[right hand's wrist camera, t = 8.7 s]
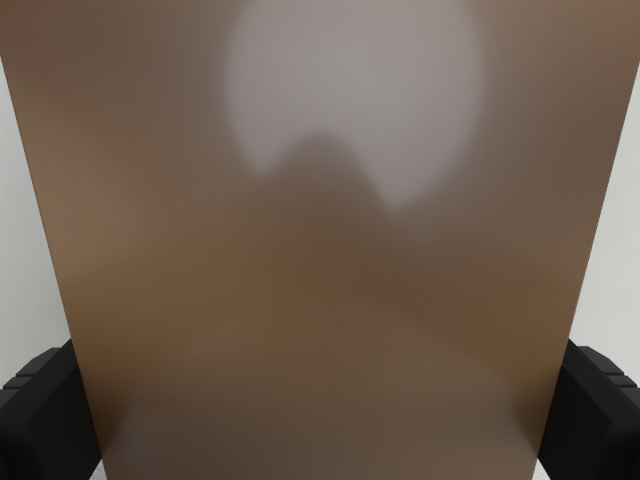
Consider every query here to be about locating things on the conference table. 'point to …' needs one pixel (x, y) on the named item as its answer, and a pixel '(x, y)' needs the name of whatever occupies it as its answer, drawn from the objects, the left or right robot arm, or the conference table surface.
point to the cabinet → (320, 222)
